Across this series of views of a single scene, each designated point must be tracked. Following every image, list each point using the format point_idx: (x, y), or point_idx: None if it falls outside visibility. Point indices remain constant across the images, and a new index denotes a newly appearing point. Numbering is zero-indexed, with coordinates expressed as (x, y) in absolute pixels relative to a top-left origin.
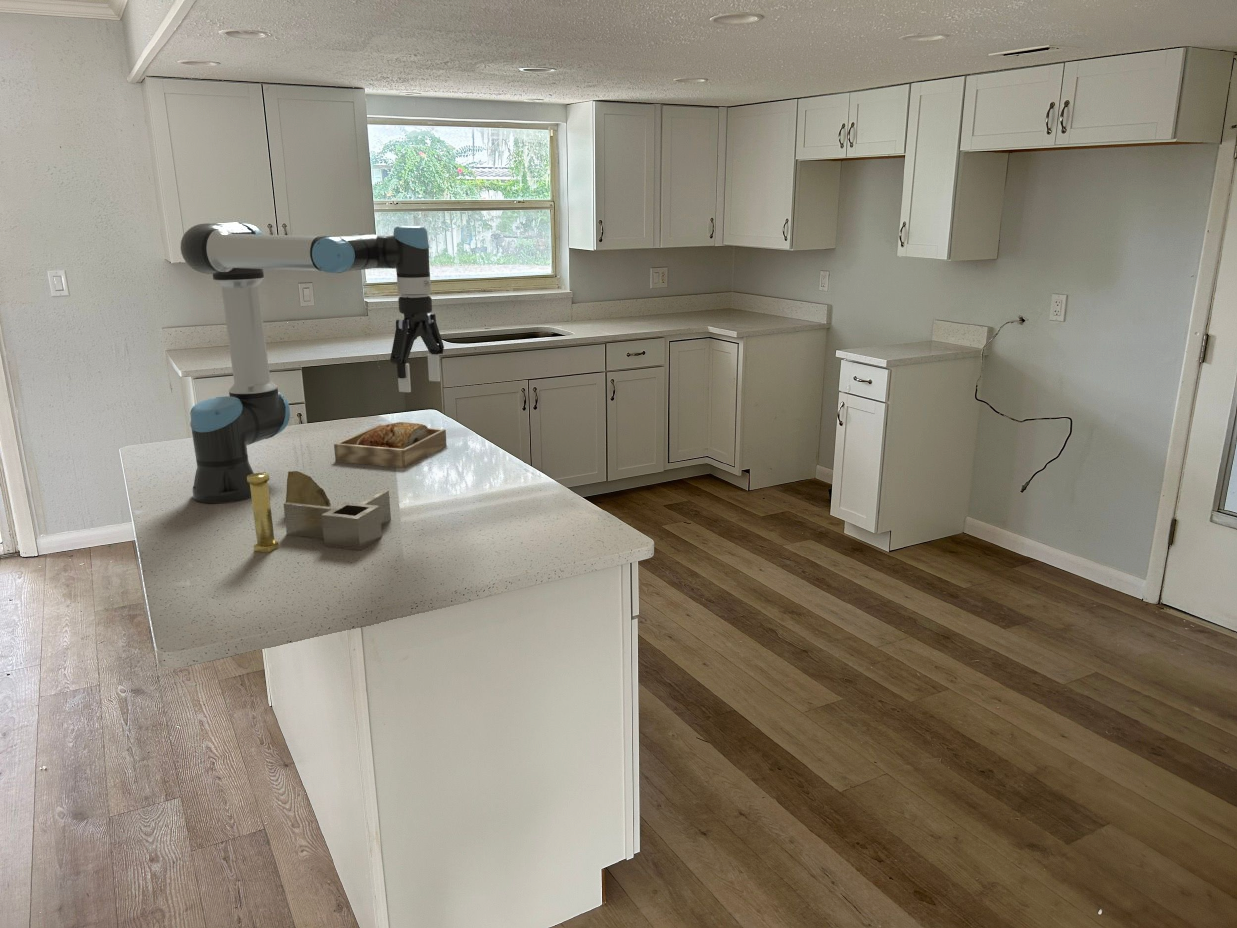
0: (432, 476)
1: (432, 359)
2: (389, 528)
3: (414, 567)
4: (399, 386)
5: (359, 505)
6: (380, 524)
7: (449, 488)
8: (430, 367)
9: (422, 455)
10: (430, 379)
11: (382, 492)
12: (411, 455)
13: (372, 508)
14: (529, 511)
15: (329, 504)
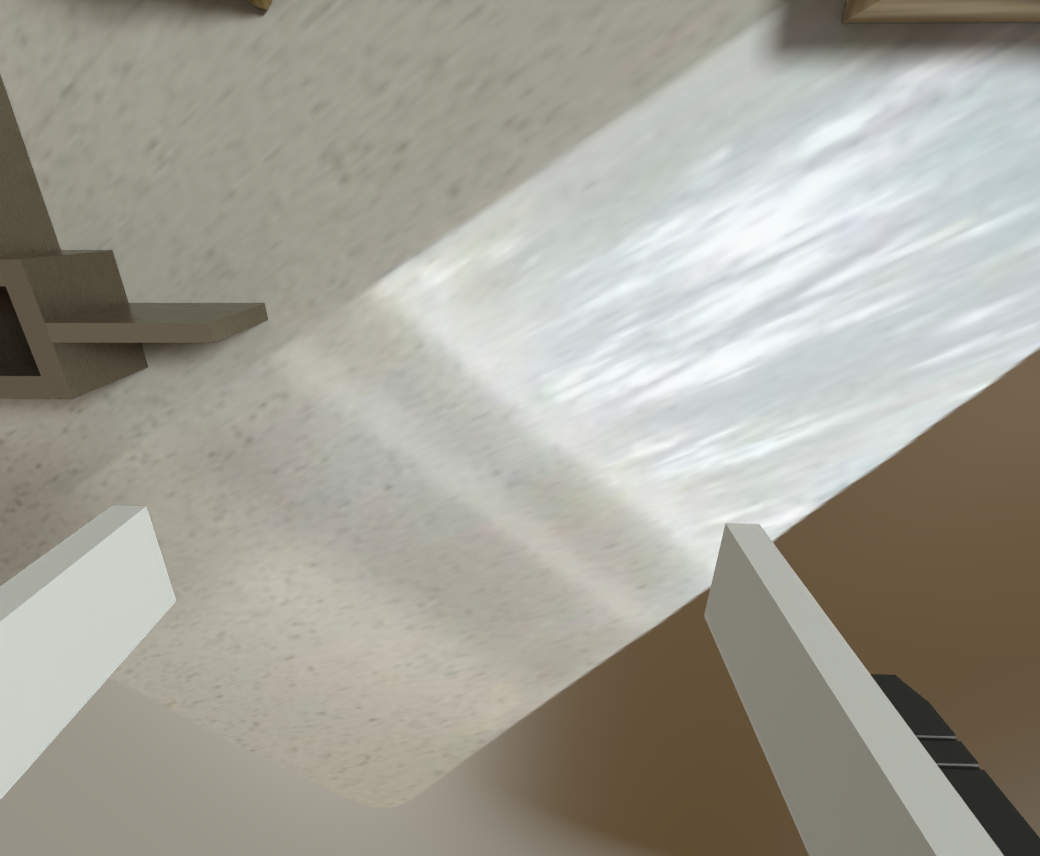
0: (729, 217)
1: (853, 828)
2: (208, 353)
3: (52, 530)
4: (72, 546)
5: (32, 332)
6: (119, 378)
7: (602, 347)
8: (790, 670)
9: (1015, 17)
10: (727, 550)
11: (184, 332)
12: (933, 6)
13: (40, 390)
14: (476, 613)
15: (257, 4)
